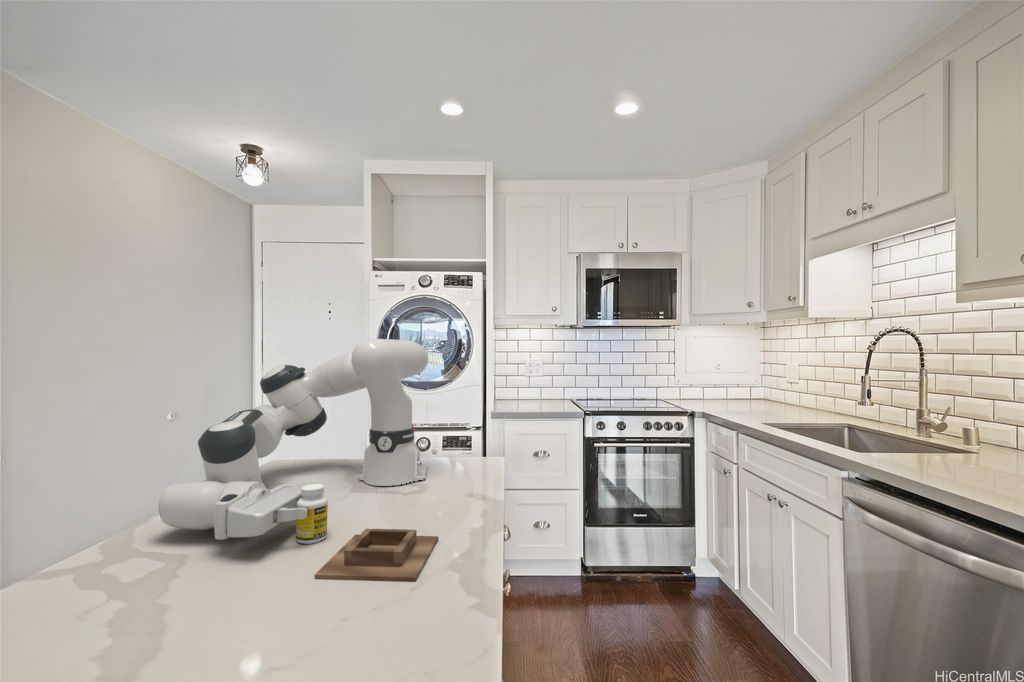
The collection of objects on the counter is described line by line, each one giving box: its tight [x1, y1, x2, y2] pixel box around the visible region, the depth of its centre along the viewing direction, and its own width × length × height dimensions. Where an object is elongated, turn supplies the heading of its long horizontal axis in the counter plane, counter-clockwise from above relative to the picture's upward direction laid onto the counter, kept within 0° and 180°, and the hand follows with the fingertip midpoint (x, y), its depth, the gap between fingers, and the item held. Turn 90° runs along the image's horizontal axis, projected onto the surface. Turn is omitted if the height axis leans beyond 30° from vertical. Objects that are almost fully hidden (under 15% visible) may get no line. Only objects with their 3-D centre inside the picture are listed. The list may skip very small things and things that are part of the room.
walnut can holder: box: [314, 528, 439, 582], centre depth 80 cm, size 16×16×3 cm
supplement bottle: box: [295, 483, 329, 545], centre depth 88 cm, size 5×5×10 cm
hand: (316, 506), depth 88 cm, fingers closed on supplement bottle, 5 cm apart
